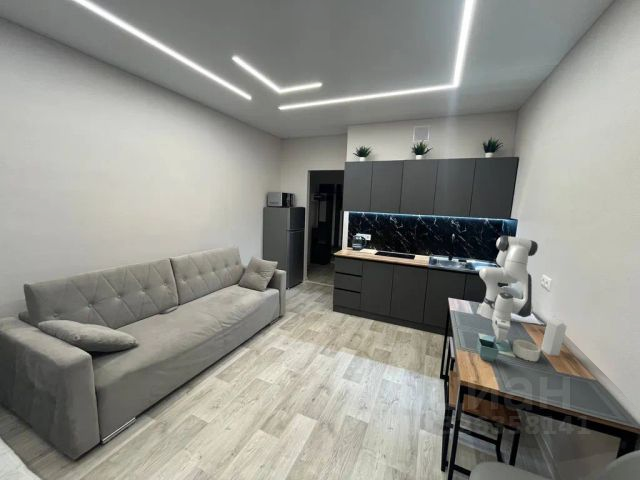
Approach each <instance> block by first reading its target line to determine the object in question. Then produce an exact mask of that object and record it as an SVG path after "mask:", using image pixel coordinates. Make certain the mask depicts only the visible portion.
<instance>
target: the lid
mask: <svg viewBox="0 0 640 480" xmlns="http://www.w3.org/2000/svg"><path fill="white" fill-rule="evenodd" d="M496 338H497V336H496V335H489V336H483V337H482V339H484V340H489V341H493V342H495V343H496ZM496 344H497V346H498V348H499V351H510V350H511V348H512V346H511V344H510V342H509V343H507V342H506V341H500V342H499V343H496Z"/></svg>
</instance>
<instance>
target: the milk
mask: <svg viewBox="0 0 640 480" xmlns="http://www.w3.org/2000/svg"><path fill="white" fill-rule="evenodd" d="M566 331H567V325H566V324H564V320H562V319H561V318H559V317H557V316H553V317H552V318H550V319H549V320H547V323H546V327H545V331H544V335H543V339H542V343H541V348H540V349H541V351H542V352H544V353H546V354H547V355H549V356H560V352H561V350H562V345H563V341H564V339H565V334H566Z"/></svg>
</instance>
